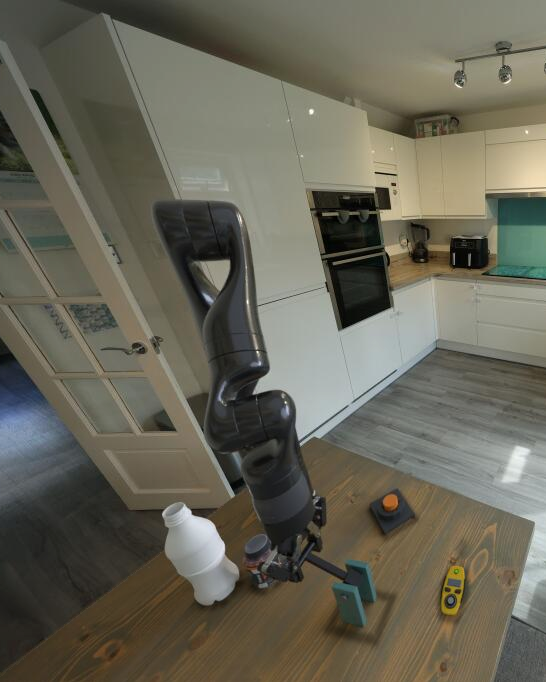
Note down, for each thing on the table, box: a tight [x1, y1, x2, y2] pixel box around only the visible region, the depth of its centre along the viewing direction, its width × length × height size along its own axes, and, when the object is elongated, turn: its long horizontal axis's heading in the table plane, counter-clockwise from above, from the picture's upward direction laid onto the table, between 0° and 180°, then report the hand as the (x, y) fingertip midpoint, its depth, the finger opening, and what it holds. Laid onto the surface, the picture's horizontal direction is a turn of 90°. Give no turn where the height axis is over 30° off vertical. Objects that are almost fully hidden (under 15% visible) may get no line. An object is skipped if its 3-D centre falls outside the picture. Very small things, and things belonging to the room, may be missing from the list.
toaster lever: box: [298, 540, 364, 588], centre depth 57 cm, size 12×4×2 cm, turn 80°
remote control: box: [440, 565, 466, 616], centre depth 67 cm, size 5×2×15 cm
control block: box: [368, 487, 416, 536], centre depth 80 cm, size 10×8×4 cm
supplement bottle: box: [242, 533, 281, 589], centre depth 65 cm, size 6×6×11 cm
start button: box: [383, 494, 398, 511], centre depth 79 cm, size 4×4×2 cm
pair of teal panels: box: [331, 558, 378, 628], centre depth 59 cm, size 10×7×13 cm
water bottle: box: [161, 501, 240, 606], centre depth 60 cm, size 7×7×25 cm
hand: (307, 563), depth 58 cm, fingers closed on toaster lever, 4 cm apart
